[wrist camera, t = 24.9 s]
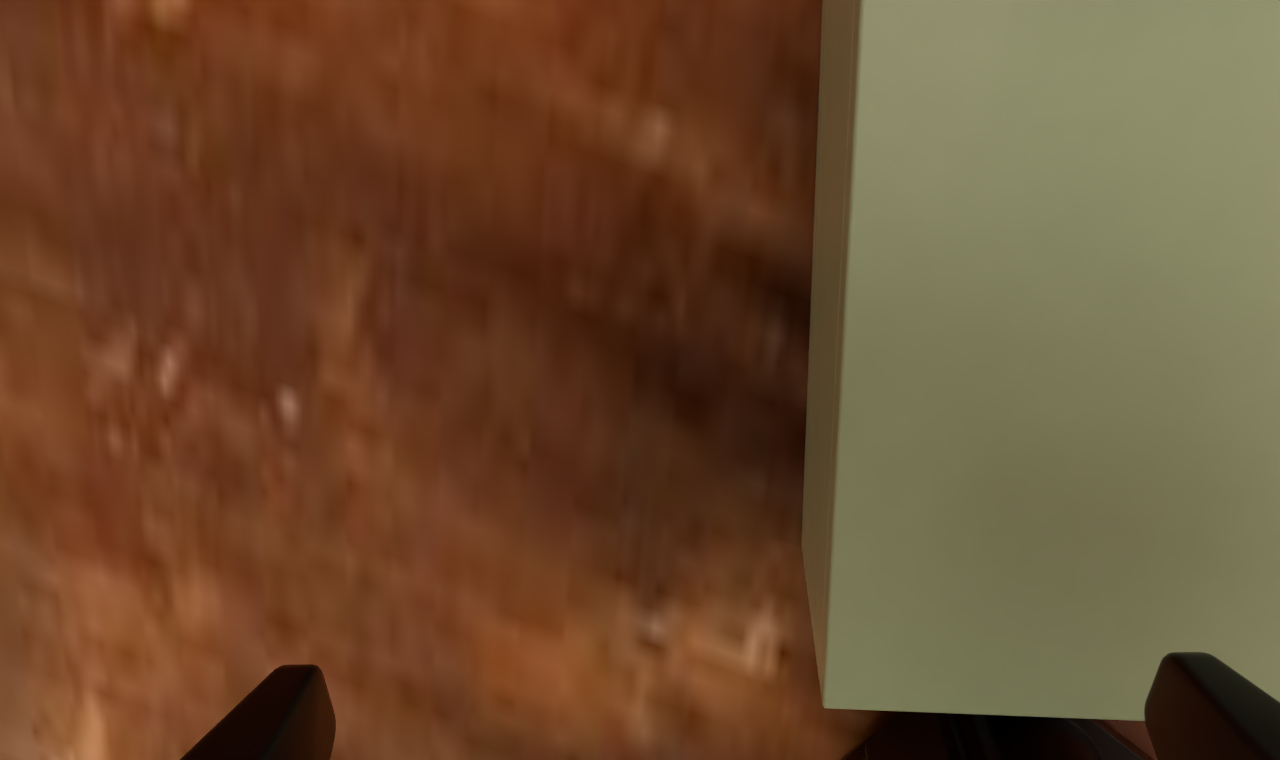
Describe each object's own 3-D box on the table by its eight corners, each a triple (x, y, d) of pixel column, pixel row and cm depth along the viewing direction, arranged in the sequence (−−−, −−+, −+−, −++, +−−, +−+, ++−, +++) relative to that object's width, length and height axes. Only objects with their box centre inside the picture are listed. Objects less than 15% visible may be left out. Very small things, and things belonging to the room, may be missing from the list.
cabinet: (823, -23, 18) (862, -41, 13) (1404, -46, 17) (1721, -77, 12) (800, 547, 23) (822, 709, 18) (1250, 556, 22) (1422, 733, 17)
